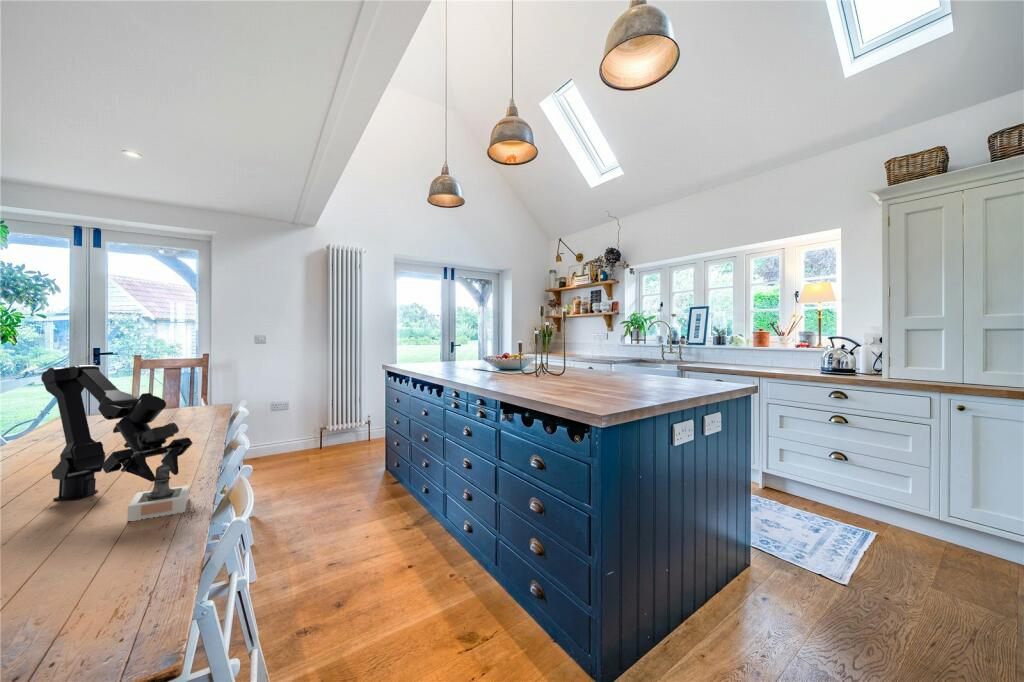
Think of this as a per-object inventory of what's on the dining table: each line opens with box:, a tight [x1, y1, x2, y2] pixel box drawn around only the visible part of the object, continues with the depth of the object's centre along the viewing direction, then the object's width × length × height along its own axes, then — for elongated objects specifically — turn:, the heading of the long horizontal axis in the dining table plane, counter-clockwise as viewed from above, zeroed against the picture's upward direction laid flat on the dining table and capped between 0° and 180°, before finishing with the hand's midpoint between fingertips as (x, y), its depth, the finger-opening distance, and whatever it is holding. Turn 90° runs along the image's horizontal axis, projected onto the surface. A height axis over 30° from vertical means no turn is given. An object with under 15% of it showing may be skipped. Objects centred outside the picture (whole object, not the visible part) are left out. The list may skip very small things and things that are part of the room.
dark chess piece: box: [146, 462, 175, 501], centre depth 105 cm, size 6×6×12 cm
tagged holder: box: [126, 484, 190, 523], centre depth 104 cm, size 11×12×4 cm
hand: (165, 477), depth 104 cm, fingers open, 5 cm apart
